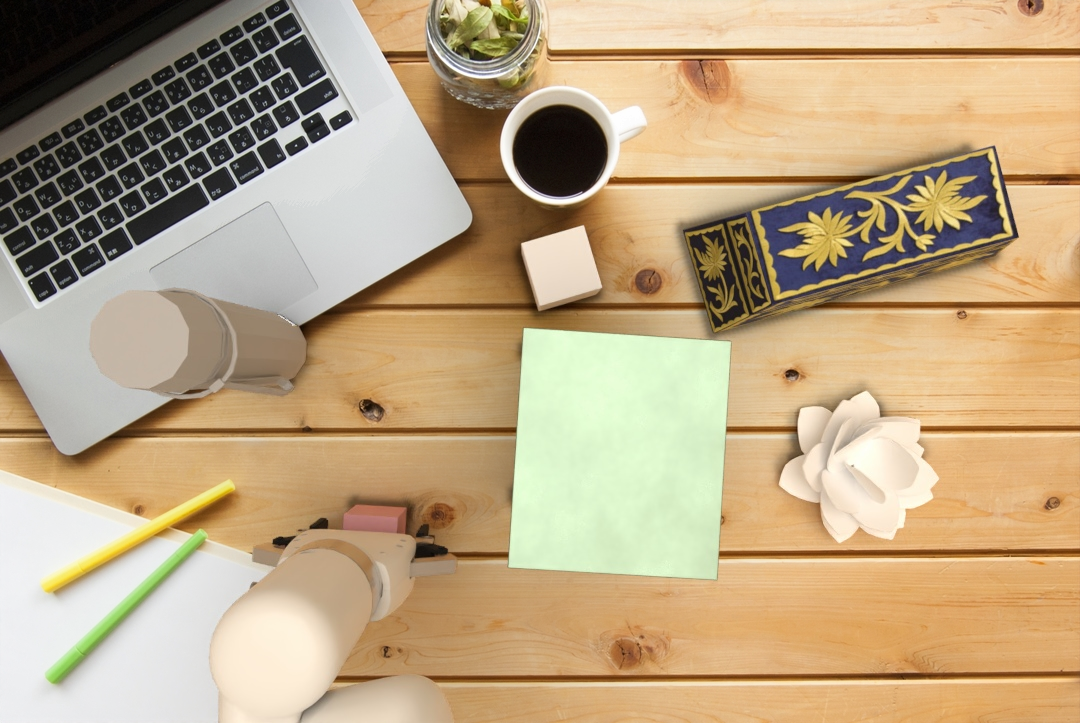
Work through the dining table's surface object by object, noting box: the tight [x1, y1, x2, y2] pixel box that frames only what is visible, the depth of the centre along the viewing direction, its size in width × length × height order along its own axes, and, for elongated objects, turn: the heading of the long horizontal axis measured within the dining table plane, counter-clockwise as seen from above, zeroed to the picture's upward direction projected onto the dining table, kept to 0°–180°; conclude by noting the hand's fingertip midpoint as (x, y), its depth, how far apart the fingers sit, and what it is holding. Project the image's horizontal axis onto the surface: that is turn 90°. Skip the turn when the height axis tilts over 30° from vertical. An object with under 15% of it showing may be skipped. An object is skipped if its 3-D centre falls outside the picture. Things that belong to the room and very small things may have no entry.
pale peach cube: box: [520, 224, 603, 312], centre depth 70 cm, size 6×6×6 cm
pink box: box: [342, 504, 408, 534], centre depth 70 cm, size 6×5×5 cm
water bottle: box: [88, 286, 308, 400], centre depth 60 cm, size 9×8×25 cm
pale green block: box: [507, 326, 733, 581], centre depth 61 cm, size 16×14×24 cm
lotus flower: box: [778, 390, 940, 544], centre depth 69 cm, size 14×15×9 cm
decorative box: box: [682, 144, 1020, 334], centre depth 69 cm, size 11×30×9 cm, turn 105°
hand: (374, 536), depth 70 cm, fingers open, 9 cm apart
